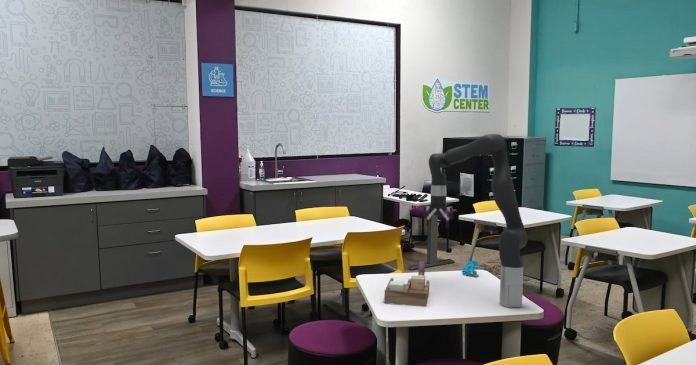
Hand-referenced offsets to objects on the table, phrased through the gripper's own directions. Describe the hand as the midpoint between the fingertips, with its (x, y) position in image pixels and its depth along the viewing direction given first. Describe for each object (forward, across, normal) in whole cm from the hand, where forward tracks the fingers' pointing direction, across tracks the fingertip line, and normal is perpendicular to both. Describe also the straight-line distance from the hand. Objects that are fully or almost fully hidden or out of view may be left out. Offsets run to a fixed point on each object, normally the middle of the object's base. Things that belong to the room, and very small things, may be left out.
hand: (437, 227), depth 264 cm
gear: (+28, +17, +21) cm, 39 cm away
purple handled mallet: (+27, -7, -11) cm, 30 cm away
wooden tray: (+28, -12, -26) cm, 40 cm away
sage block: (+25, -16, -33) cm, 44 cm away
